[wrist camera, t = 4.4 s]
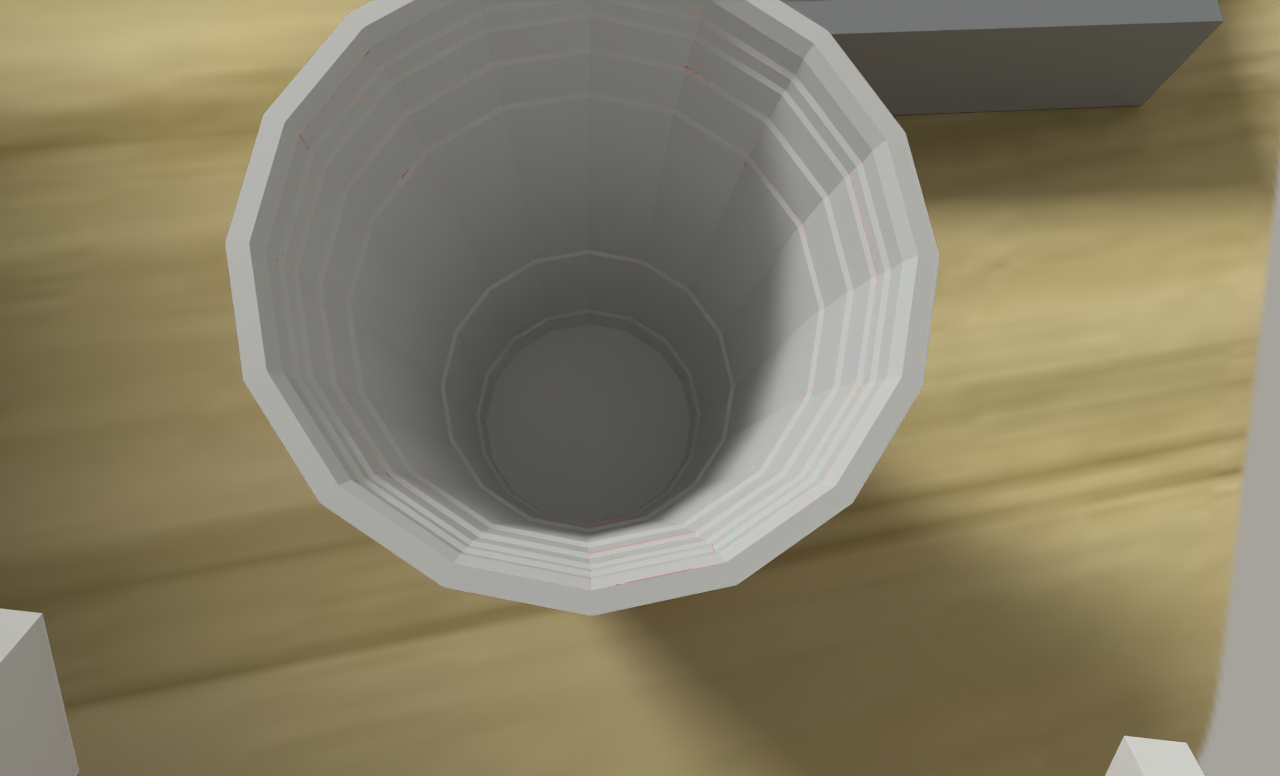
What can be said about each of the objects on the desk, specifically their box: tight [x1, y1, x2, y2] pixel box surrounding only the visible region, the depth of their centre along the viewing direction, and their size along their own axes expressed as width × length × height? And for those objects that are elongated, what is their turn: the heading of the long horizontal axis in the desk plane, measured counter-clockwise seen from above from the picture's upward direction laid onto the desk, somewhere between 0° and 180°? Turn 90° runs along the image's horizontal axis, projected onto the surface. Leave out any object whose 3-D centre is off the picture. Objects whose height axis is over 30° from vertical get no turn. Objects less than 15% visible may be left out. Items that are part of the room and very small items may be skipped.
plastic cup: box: [225, 0, 940, 616], centre depth 20 cm, size 11×11×12 cm
